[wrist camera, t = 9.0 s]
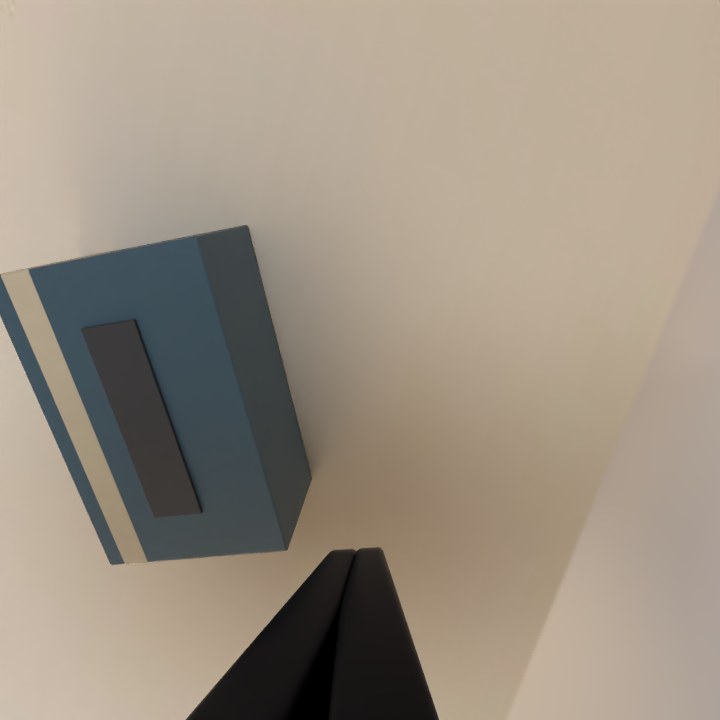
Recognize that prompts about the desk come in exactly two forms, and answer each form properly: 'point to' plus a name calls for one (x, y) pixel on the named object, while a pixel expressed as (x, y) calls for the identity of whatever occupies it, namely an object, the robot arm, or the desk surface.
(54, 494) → the desk surface
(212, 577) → the desk surface
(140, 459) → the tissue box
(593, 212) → the desk surface
